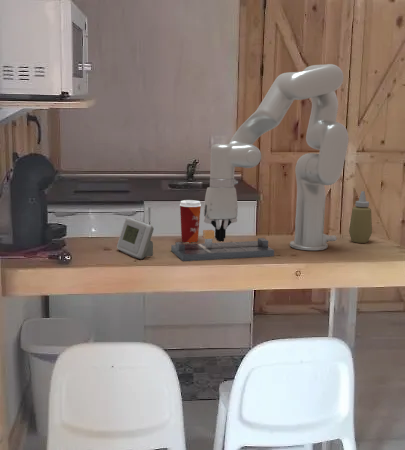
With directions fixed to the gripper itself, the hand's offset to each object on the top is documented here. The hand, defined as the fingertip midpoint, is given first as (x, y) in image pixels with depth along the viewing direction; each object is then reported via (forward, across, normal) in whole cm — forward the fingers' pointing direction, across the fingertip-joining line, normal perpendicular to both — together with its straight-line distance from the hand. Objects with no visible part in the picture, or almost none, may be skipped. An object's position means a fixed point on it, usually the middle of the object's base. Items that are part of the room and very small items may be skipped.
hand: (220, 240), depth 211 cm
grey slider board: (+4, -1, 0) cm, 4 cm away
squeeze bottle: (+4, -55, -7) cm, 55 cm away
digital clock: (+5, +27, -5) cm, 28 cm away
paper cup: (+4, +4, -20) cm, 21 cm away
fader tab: (+2, +4, 0) cm, 4 cm away
